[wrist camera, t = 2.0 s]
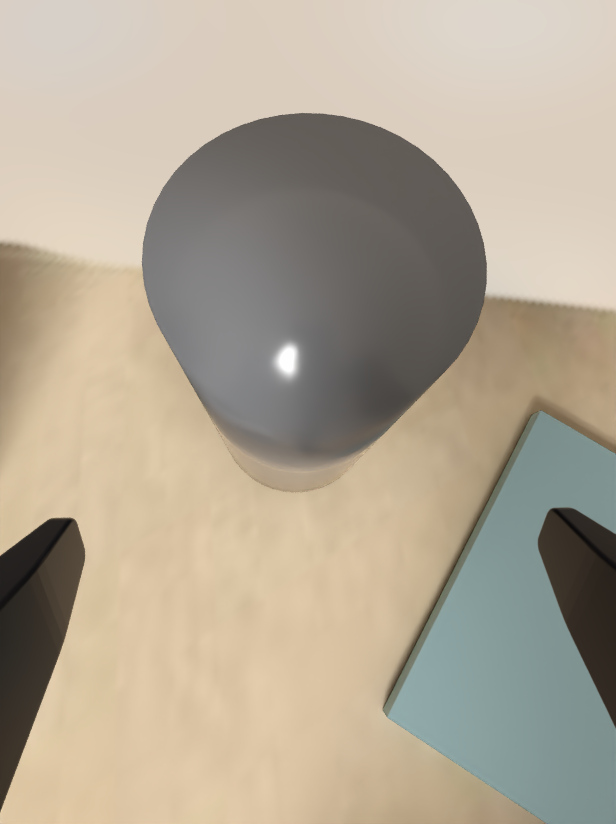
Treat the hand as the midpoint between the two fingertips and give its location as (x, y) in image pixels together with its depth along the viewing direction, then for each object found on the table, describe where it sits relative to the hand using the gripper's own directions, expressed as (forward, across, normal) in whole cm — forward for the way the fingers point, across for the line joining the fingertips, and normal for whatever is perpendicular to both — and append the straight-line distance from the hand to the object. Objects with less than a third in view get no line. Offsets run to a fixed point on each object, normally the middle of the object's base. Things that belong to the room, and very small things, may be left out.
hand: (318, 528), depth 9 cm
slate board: (+5, -12, +11) cm, 17 cm away
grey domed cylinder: (+12, 0, +5) cm, 13 cm away
